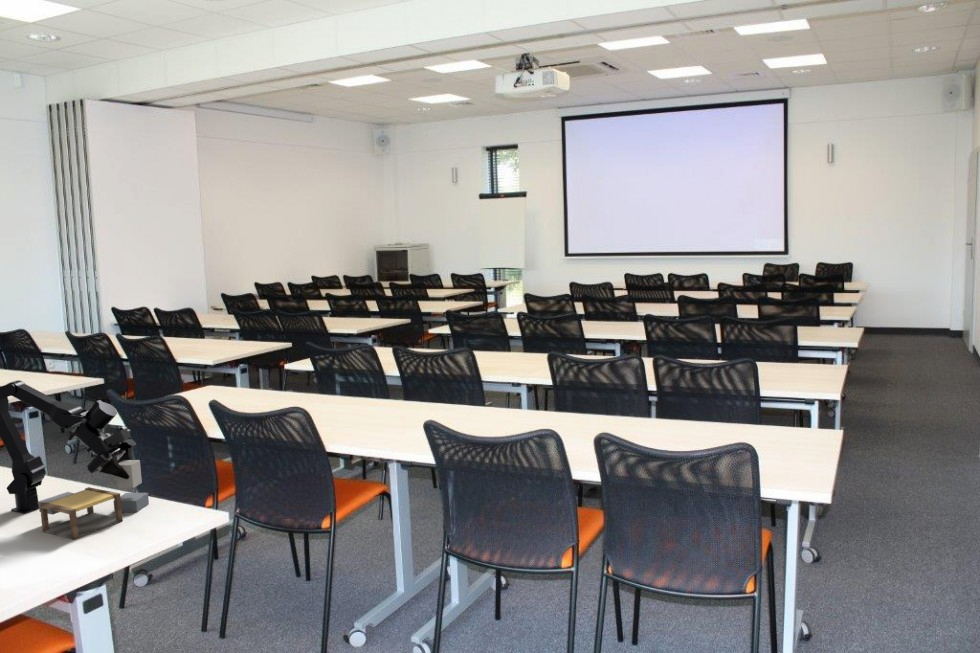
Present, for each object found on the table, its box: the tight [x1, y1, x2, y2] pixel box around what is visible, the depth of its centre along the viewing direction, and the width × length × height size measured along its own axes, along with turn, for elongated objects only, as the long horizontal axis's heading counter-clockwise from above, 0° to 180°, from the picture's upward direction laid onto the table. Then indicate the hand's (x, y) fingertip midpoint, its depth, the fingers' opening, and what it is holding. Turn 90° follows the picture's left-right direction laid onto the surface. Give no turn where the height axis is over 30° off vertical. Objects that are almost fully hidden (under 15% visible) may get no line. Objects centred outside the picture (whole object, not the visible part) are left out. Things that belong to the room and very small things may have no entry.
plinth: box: [113, 492, 150, 513], centre depth 246 cm, size 7×7×4 cm
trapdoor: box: [38, 489, 114, 516], centre depth 233 cm, size 18×12×4 cm, turn 61°
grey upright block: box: [115, 459, 143, 489], centre depth 245 cm, size 5×5×7 cm
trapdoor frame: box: [40, 486, 124, 540], centre depth 232 cm, size 14×15×8 cm
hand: (133, 475), depth 245 cm, fingers closed on grey upright block, 5 cm apart
